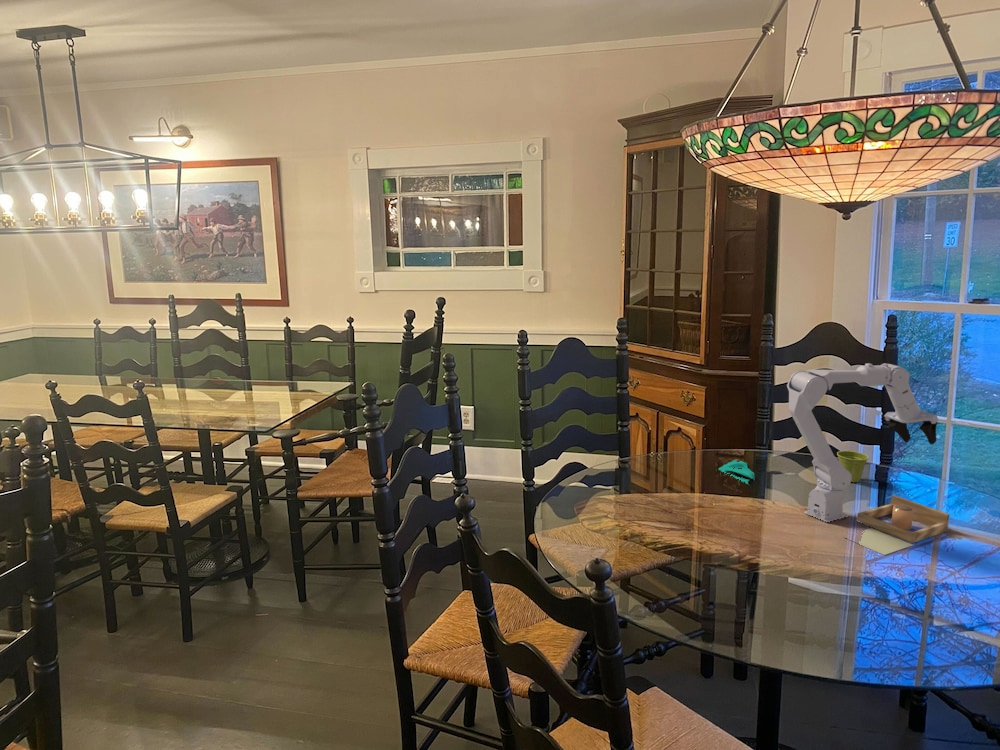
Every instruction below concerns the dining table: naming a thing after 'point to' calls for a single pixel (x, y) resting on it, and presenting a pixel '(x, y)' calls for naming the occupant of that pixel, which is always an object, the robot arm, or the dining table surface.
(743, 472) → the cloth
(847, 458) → the plant pot
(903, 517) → the terracotta pot
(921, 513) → the cold frame
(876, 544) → the potting mat
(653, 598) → the dining table surface
